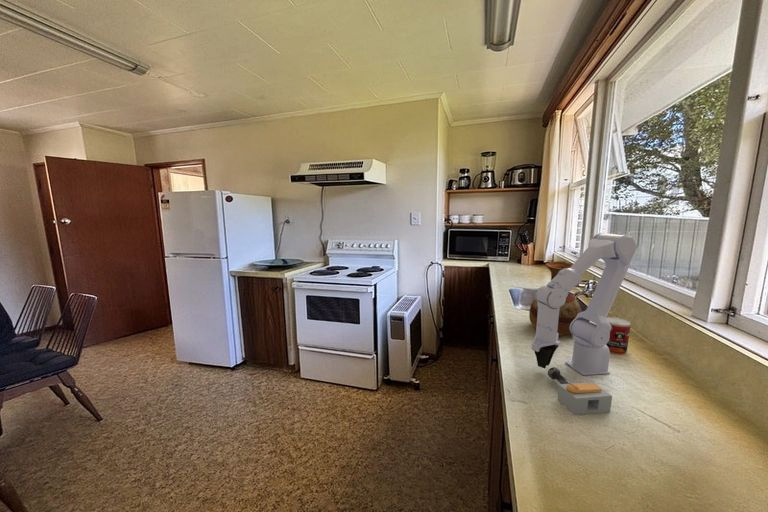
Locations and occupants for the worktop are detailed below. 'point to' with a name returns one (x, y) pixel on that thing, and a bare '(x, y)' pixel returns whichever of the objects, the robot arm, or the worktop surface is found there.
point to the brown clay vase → (566, 311)
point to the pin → (557, 376)
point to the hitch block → (584, 400)
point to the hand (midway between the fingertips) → (543, 365)
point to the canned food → (618, 335)
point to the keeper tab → (583, 388)
